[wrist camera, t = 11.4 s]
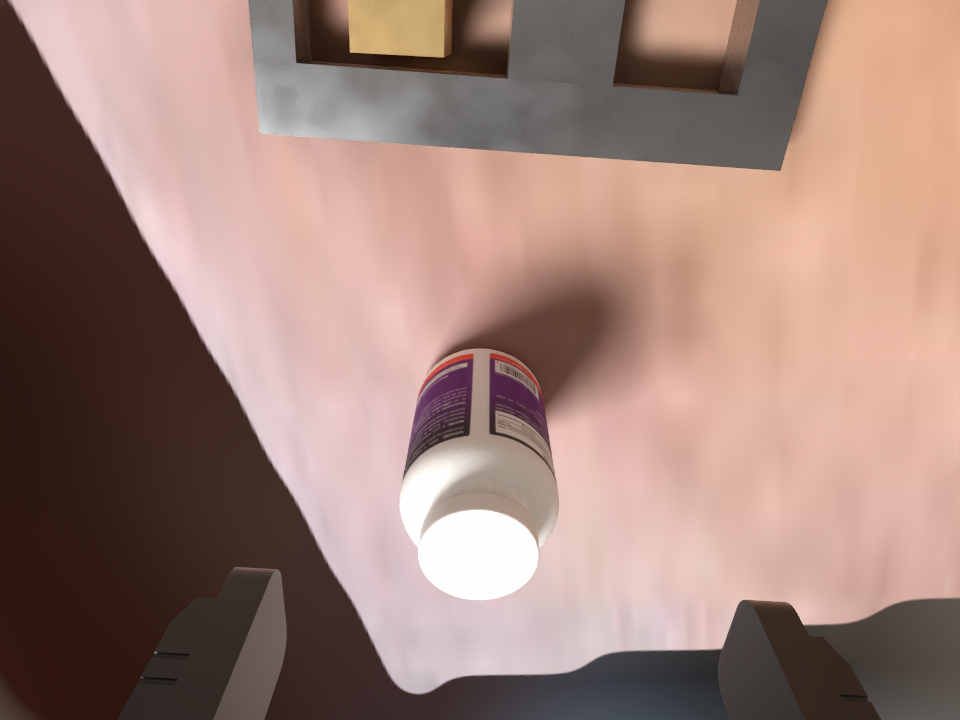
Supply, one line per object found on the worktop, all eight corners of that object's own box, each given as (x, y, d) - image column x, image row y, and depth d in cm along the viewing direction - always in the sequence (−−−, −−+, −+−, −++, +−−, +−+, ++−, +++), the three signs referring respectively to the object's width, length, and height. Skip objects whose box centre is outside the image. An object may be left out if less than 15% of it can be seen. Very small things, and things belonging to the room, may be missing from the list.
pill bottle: (422, 448, 44) (394, 620, 31) (415, 341, 40) (380, 487, 27) (541, 447, 43) (562, 620, 31) (545, 341, 40) (571, 487, 27)
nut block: (453, -39, 31) (446, -54, 25) (451, 53, 33) (443, 57, 27) (370, -43, 31) (345, -60, 25) (373, 49, 33) (349, 52, 27)
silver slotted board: (827, -110, 29) (861, -125, 27) (758, 160, 35) (780, 170, 32) (257, -156, 29) (233, -175, 26) (278, 125, 34) (259, 133, 32)
